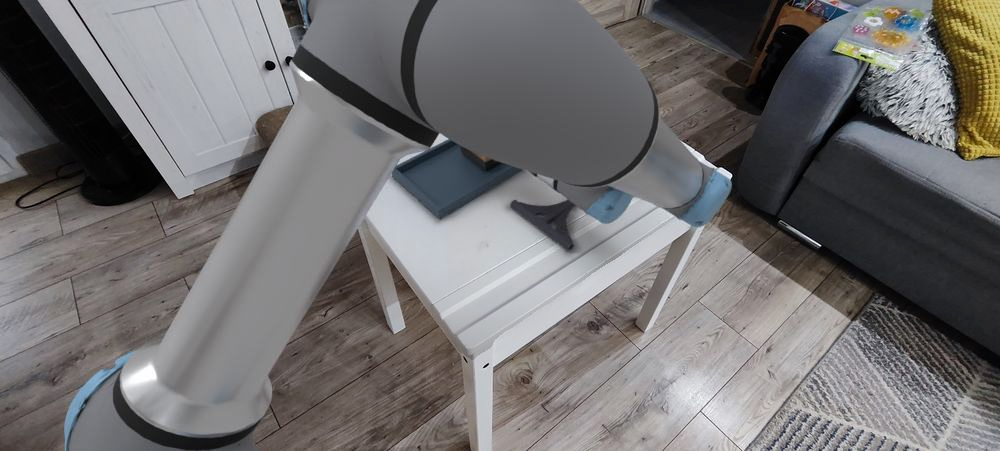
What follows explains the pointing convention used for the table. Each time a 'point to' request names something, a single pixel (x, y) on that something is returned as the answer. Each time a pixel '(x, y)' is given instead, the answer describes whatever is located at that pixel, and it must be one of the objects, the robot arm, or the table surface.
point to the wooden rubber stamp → (479, 159)
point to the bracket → (549, 219)
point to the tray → (448, 178)
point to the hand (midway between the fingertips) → (463, 102)
